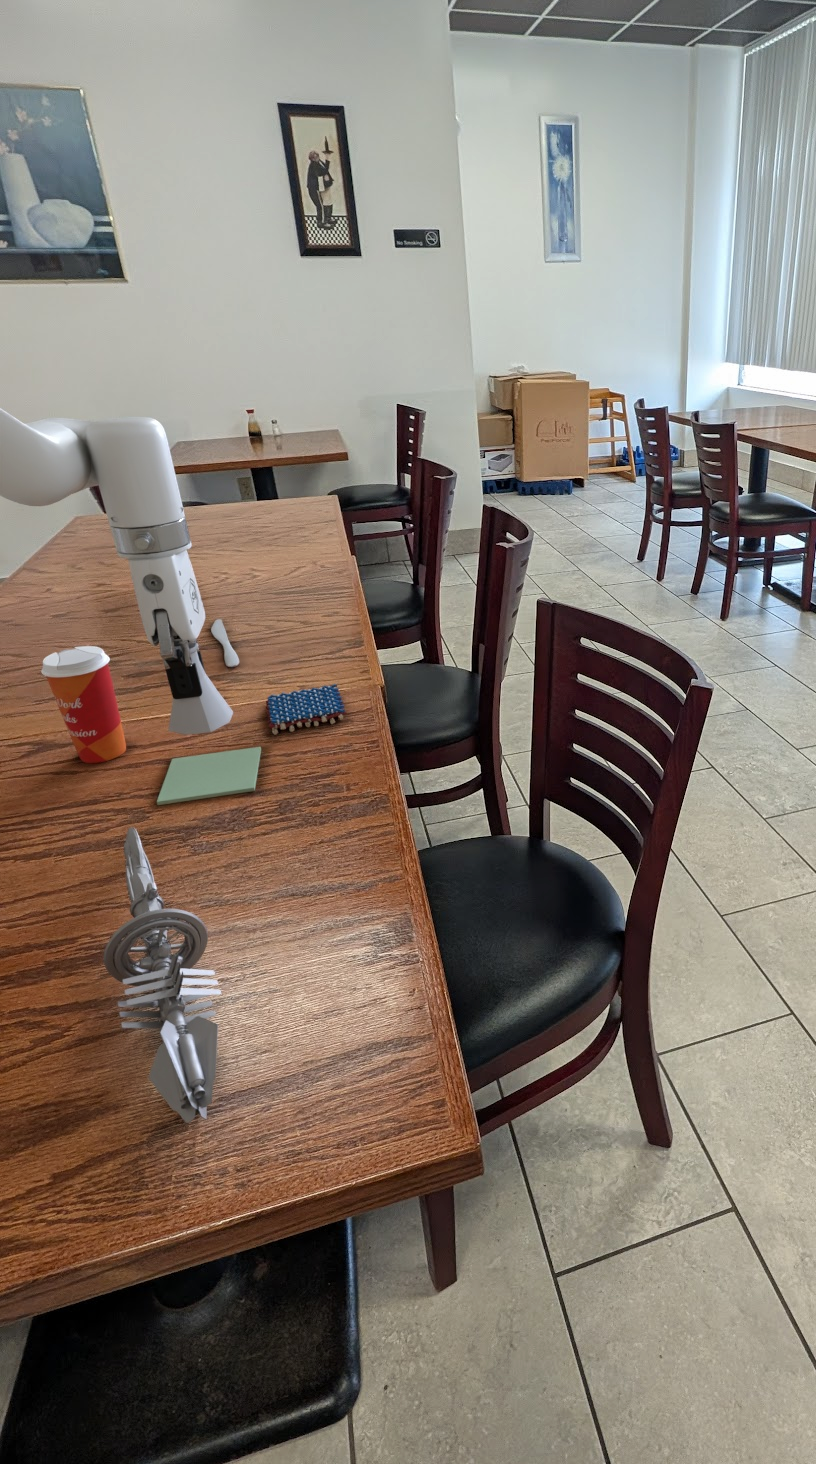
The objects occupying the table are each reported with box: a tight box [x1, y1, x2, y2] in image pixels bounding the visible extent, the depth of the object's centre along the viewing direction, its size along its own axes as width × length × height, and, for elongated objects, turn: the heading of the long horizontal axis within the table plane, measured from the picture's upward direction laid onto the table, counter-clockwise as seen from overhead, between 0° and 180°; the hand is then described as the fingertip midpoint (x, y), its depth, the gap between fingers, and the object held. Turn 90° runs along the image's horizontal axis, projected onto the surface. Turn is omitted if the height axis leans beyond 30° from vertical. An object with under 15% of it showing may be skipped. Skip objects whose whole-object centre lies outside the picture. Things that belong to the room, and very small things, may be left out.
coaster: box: [156, 746, 262, 806], centre depth 103 cm, size 11×11×1 cm
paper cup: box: [40, 645, 127, 764], centre depth 106 cm, size 8×8×14 cm
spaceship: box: [103, 826, 222, 1124], centre depth 69 cm, size 8×35×8 cm
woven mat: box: [265, 683, 347, 736], centre depth 118 cm, size 10×11×2 cm
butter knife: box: [210, 618, 240, 668], centre depth 145 cm, size 1×27×3 cm
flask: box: [168, 642, 234, 736], centre depth 97 cm, size 7×7×10 cm
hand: (190, 688), depth 98 cm, fingers closed on flask, 3 cm apart
